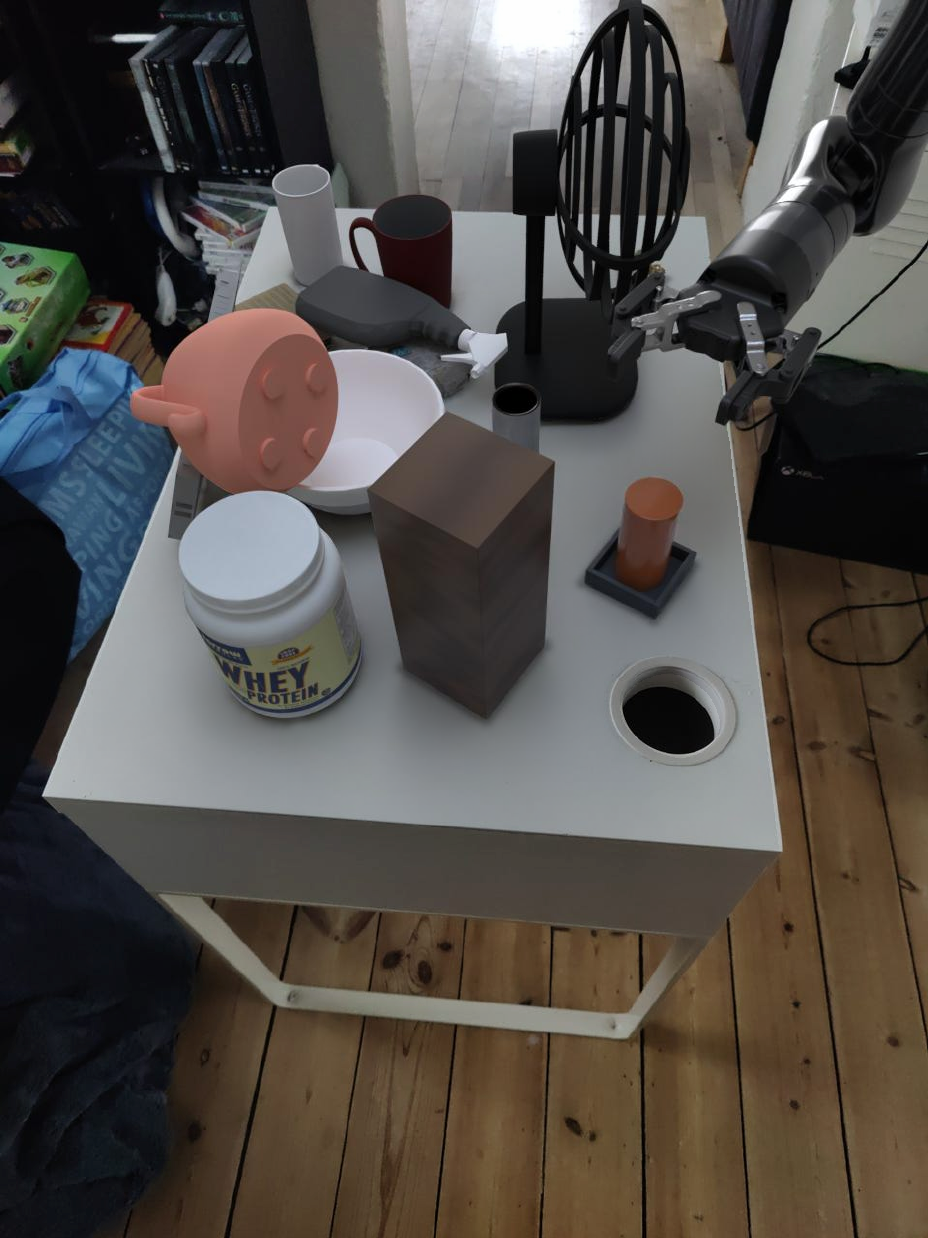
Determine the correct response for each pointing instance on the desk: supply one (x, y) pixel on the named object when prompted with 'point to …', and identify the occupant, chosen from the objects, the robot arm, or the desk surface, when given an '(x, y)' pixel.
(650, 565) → the copper brown cylinder
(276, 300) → the ink box
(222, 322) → the teapot
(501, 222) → the desk surface
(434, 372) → the stone
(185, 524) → the building model
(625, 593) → the tray
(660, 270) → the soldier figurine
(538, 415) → the gray hollow tube
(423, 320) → the spray bottle
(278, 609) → the supplement tub
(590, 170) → the desk fan
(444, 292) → the mug
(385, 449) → the bowl
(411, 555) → the plant stand
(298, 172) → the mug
